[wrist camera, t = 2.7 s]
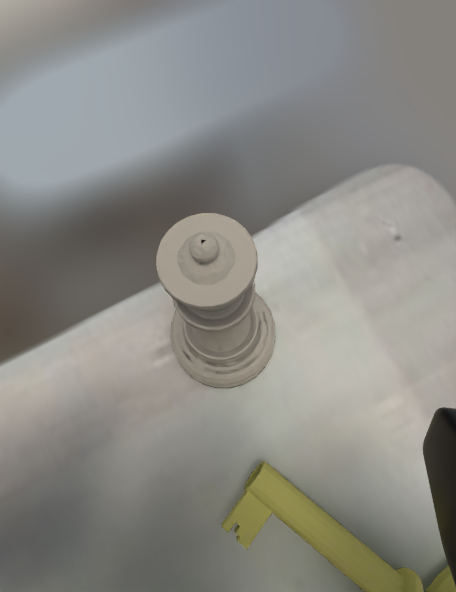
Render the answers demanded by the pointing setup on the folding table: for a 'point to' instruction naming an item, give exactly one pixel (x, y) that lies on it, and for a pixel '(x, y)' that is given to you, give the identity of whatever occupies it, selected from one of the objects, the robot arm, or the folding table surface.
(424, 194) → the folding table surface
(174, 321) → the chess piece
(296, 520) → the key
